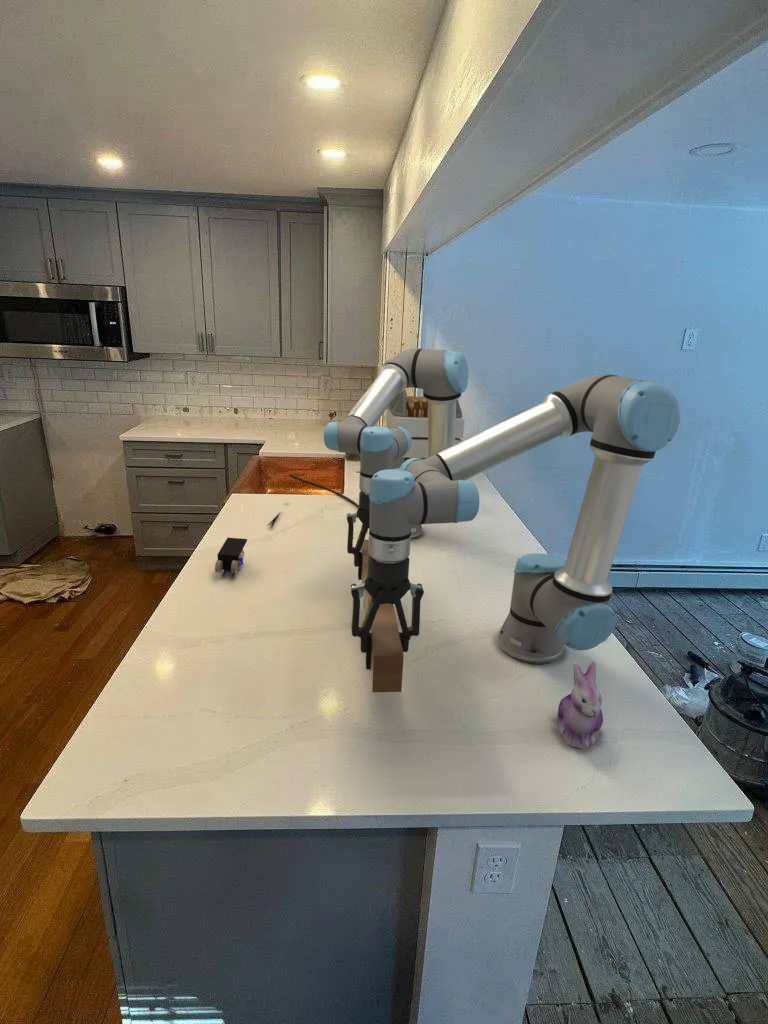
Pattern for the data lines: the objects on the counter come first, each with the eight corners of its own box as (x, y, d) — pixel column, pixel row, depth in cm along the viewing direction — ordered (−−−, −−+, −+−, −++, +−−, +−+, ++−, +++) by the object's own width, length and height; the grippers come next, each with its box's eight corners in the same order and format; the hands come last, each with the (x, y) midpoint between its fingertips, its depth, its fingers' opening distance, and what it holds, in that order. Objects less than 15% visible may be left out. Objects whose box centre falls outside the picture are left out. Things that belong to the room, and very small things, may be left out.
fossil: (345, 442, 310) (366, 427, 305) (356, 456, 313) (377, 441, 308) (338, 456, 291) (361, 440, 286) (350, 470, 294) (373, 455, 289)
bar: (359, 566, 152) (360, 539, 150) (379, 566, 153) (380, 539, 150) (372, 692, 103) (373, 655, 100) (401, 692, 103) (403, 655, 100)
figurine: (580, 758, 102) (595, 689, 97) (541, 722, 110) (552, 657, 105) (617, 742, 106) (633, 675, 101) (577, 709, 114) (589, 645, 109)
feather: (287, 506, 225) (290, 502, 224) (270, 530, 198) (272, 526, 198) (283, 504, 225) (286, 500, 224) (265, 527, 198) (268, 523, 197)
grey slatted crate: (382, 463, 289) (386, 382, 275) (445, 464, 293) (451, 384, 279) (390, 482, 257) (394, 392, 243) (460, 483, 261) (468, 394, 247)
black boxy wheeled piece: (238, 584, 162) (249, 557, 175) (236, 562, 158) (247, 536, 172) (215, 584, 161) (227, 556, 175) (212, 561, 158) (225, 535, 171)
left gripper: (336, 495, 133) (335, 584, 141) (414, 496, 135) (408, 584, 143) (336, 486, 140) (335, 571, 148) (410, 487, 142) (405, 571, 150)
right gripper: (337, 564, 98) (336, 677, 105) (442, 564, 99) (433, 676, 107) (337, 547, 105) (335, 654, 112) (435, 547, 106) (427, 653, 114)
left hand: (371, 577), depth 146 cm, fingers closed on bar, 5 cm apart
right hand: (383, 665), depth 110 cm, fingers closed on bar, 5 cm apart
